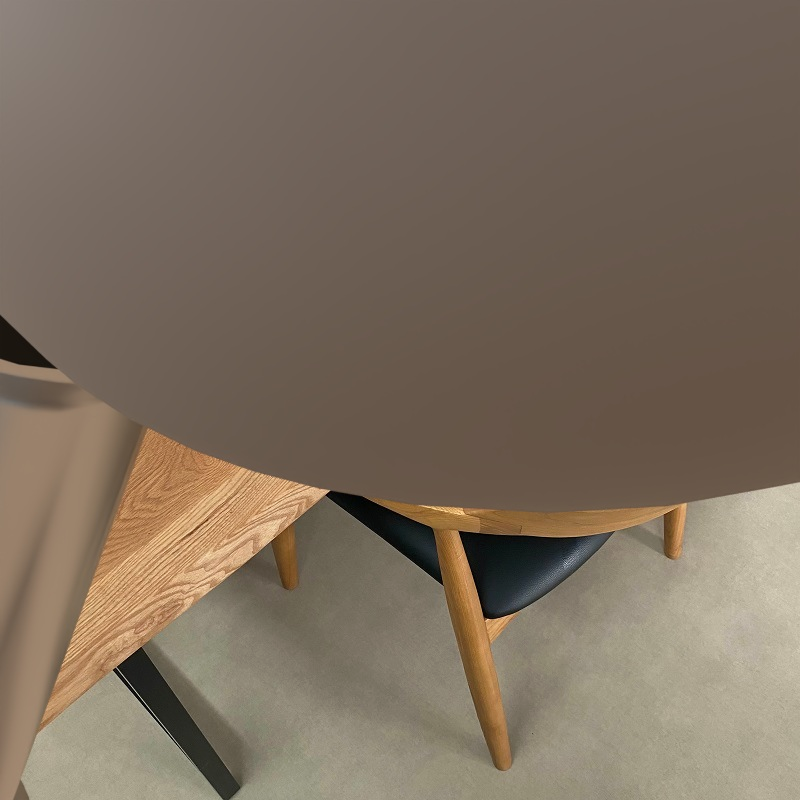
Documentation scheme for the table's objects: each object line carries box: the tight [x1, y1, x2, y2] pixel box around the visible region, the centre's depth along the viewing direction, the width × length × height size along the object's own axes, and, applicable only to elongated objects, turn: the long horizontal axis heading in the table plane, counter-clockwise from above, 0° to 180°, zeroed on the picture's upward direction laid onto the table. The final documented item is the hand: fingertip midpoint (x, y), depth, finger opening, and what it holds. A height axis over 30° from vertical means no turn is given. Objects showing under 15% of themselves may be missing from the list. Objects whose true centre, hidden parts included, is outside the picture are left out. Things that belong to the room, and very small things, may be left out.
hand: (353, 100), depth 57 cm, fingers open, 13 cm apart
